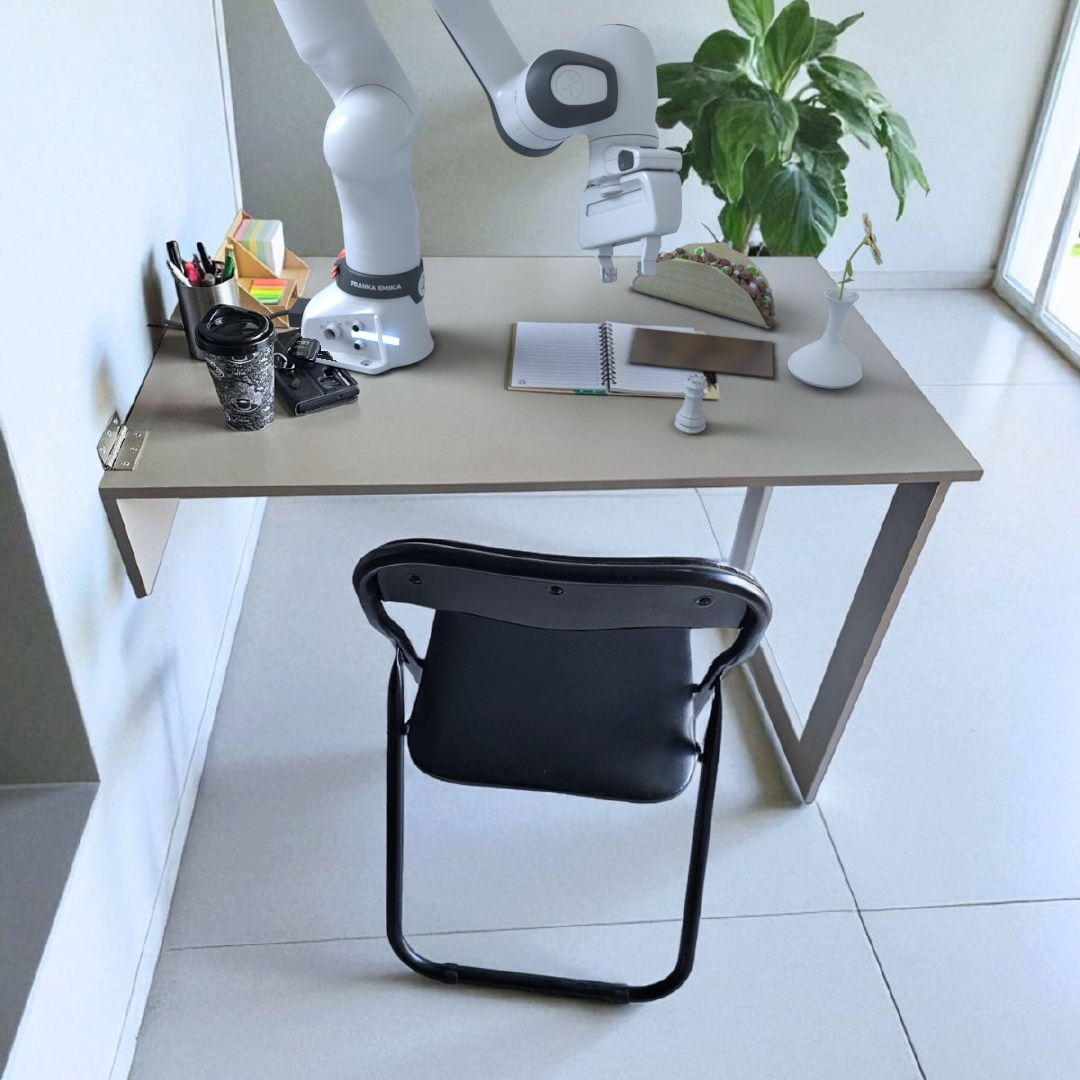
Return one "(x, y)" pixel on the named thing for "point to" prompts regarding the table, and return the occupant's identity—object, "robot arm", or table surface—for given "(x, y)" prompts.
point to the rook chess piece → (692, 406)
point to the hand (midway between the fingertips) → (627, 279)
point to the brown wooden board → (703, 353)
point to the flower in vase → (834, 334)
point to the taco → (712, 283)
